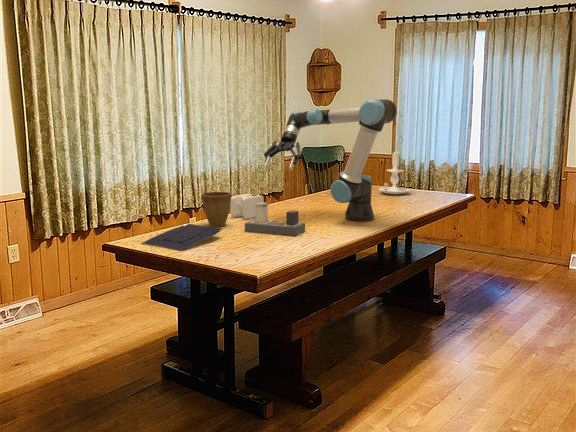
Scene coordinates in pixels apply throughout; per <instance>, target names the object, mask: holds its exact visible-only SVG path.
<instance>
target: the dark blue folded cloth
mask: <svg viewBox="0 0 576 432" xmlns="http://www.w3.org/2000/svg"><path fill="white" fill-rule="evenodd" d="M222 230H223V228H222V227H221V228H220V227H212V226H206V225H199V224H195V223H188V224H186V225H181V226H178V227H175V228H172V229H169V230H167V231H165V232H162V233H160V234H157V235H156V236H152V237H151V238H149V239H147V240H145V241H143V242H141V244H142V245H149V246H155V247H162V248H167V249H172V250H175V251H181V252H182V251H184V250H187V249H189V248H191V247H194V246H195V245H197V244H198V243H200V242H202V241H206V240H207V239H208V238H211V237H214V236H215V235H217V234H219V233H221V232H222Z"/></svg>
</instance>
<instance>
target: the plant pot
mask: <svg viewBox="0 0 576 432" xmlns="http://www.w3.org/2000/svg"><path fill="white" fill-rule="evenodd" d="M200 196H201V200H202V201H201V202H202V206H203V211H204V213H205V216H206V219H207V222H208V224H209V227H214V228H220V227H221V228H222V227H224V226H226V223H227V220H228V216H229V212H230V210H231V207H230V203H231V197H232V192H229V191H228V192H227V191H211V192H204V193H201V194H200Z"/></svg>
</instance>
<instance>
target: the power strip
mask: <svg viewBox="0 0 576 432" xmlns="http://www.w3.org/2000/svg"><path fill="white" fill-rule="evenodd" d="M285 219H286V220H285V221H284V220H275V219H268V222H266V223H256V218H253V219H252V220H250V221H247V222H245V223H244V232H247V233H254V234H255V233H256V234H265V235H266V234H267V235H276V236H277V235H278V236H286V237H287V236H288V237H297V236H299V235H301V234H303V233H304V232H306V222H299V210H289V211H286V218H285Z"/></svg>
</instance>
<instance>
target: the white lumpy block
mask: <svg viewBox="0 0 576 432" xmlns="http://www.w3.org/2000/svg"><path fill="white" fill-rule="evenodd" d="M264 200H265V199H264V196H263V195H260V194H259V195H253V194H251V193H243V194H238V195H232V196H231V203H230V216H231V217H233V218H234V217H235V218H240V217H241V216H242V218H244V219H246V220H251V219H252V218H253V219H254V218H256V204H257V203H260V202H263V203H265V202H264ZM253 219H252V220H253Z"/></svg>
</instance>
